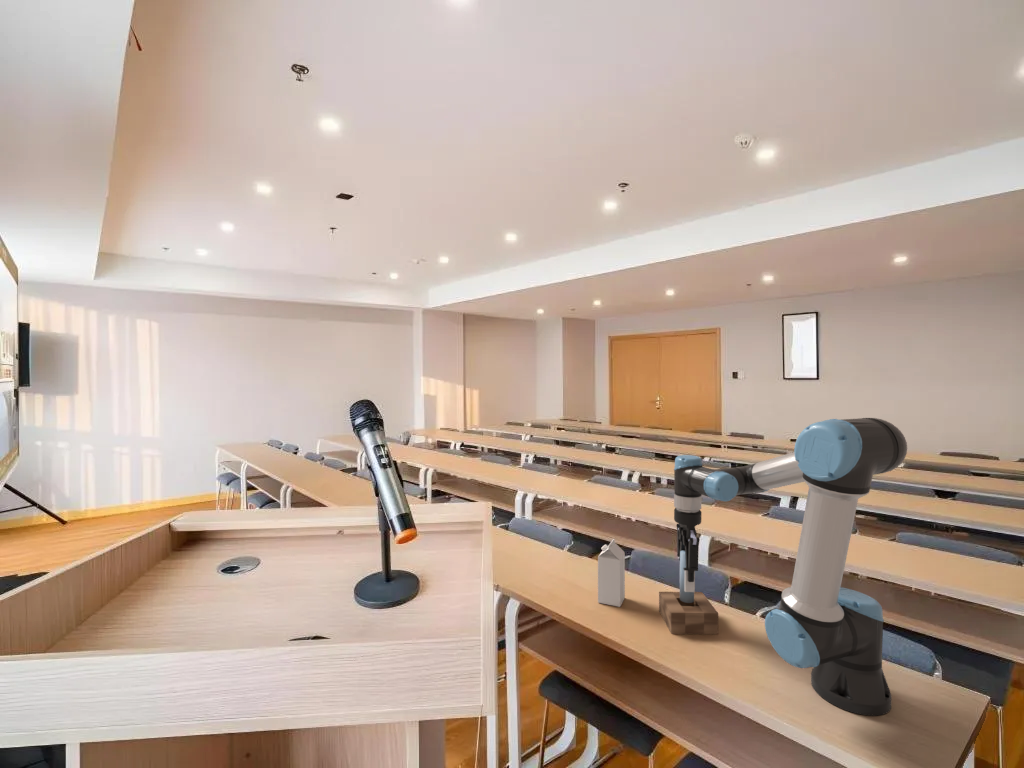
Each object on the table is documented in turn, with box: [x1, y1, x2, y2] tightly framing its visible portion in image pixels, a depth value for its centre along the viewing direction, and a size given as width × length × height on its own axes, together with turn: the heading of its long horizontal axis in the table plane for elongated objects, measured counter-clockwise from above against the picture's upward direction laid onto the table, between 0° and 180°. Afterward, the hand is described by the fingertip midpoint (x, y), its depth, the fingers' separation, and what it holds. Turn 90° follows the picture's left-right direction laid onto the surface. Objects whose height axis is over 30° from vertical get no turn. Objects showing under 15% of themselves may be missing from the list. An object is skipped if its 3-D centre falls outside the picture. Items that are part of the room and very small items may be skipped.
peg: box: [679, 550, 694, 603], centre depth 144 cm, size 4×4×14 cm
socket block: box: [658, 591, 719, 635], centre depth 145 cm, size 13×13×6 cm
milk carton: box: [597, 538, 626, 608], centre depth 158 cm, size 7×7×19 cm
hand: (687, 587), depth 145 cm, fingers closed on peg, 4 cm apart
